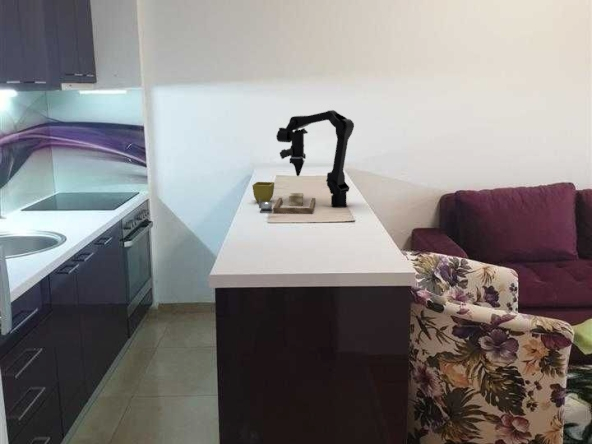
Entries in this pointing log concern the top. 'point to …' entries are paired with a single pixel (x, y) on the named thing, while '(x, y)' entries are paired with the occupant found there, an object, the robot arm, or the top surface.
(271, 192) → the flower pot
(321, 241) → the top surface
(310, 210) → the bay
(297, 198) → the box
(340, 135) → the robot arm
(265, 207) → the winch drum
